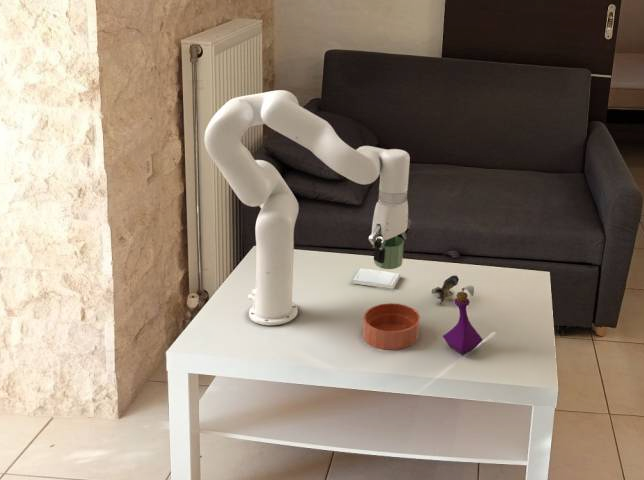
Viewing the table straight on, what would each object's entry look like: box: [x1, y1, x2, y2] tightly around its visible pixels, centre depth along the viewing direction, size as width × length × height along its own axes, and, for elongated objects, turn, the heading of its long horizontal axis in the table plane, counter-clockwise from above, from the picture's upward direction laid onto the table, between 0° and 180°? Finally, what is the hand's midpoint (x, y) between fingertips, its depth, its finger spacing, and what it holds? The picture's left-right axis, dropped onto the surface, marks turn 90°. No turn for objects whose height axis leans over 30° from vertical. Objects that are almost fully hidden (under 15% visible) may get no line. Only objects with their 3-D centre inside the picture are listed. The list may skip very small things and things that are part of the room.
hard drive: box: [352, 267, 401, 289], centre depth 221 cm, size 2×8×12 cm
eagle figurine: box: [431, 275, 460, 306], centre depth 214 cm, size 8×7×9 cm
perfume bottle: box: [442, 285, 484, 356], centre depth 187 cm, size 8×8×18 cm
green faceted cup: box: [373, 235, 405, 270], centre depth 198 cm, size 8×8×6 cm
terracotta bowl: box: [362, 302, 421, 351], centre depth 191 cm, size 15×15×6 cm
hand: (388, 256), depth 198 cm, fingers closed on green faceted cup, 7 cm apart
